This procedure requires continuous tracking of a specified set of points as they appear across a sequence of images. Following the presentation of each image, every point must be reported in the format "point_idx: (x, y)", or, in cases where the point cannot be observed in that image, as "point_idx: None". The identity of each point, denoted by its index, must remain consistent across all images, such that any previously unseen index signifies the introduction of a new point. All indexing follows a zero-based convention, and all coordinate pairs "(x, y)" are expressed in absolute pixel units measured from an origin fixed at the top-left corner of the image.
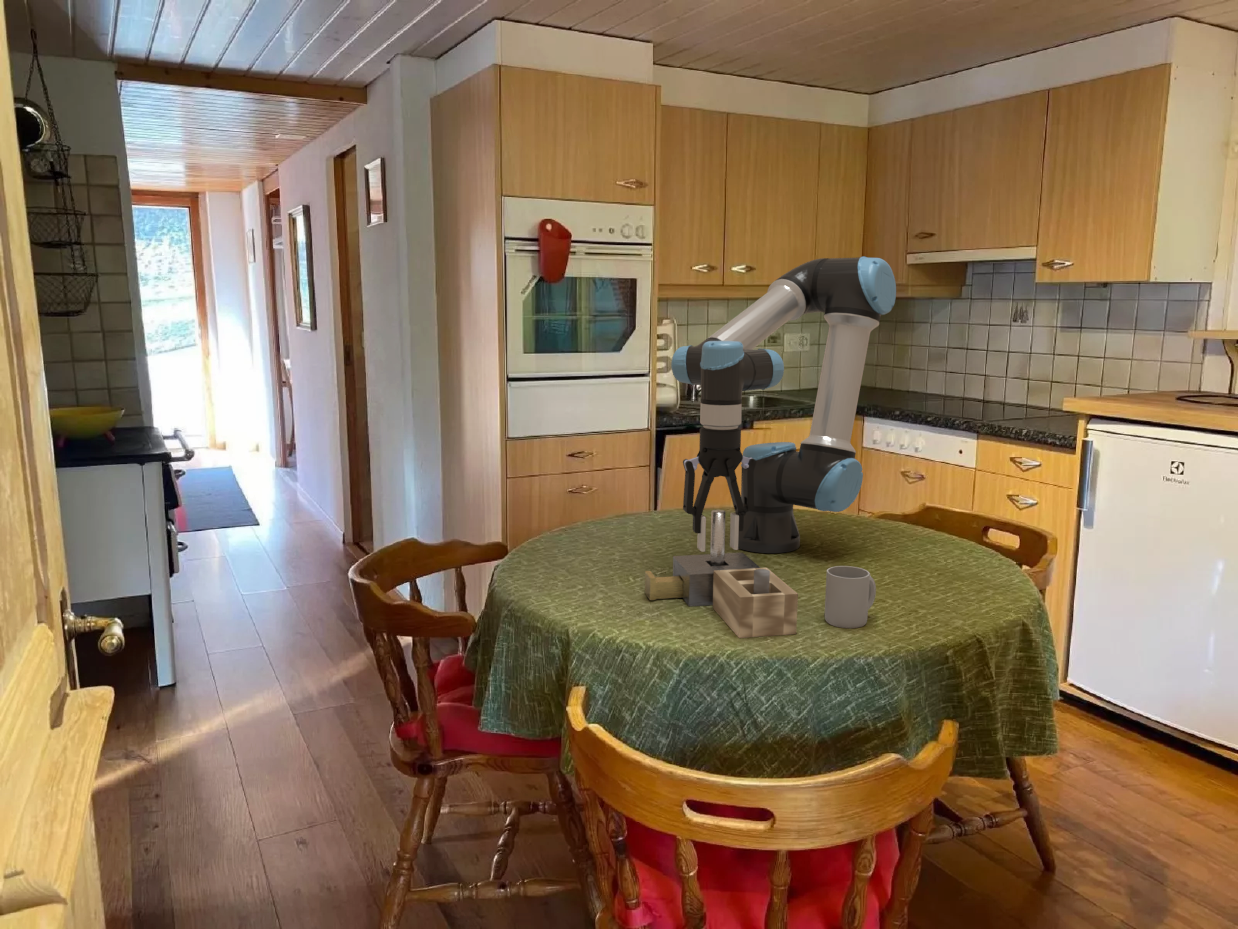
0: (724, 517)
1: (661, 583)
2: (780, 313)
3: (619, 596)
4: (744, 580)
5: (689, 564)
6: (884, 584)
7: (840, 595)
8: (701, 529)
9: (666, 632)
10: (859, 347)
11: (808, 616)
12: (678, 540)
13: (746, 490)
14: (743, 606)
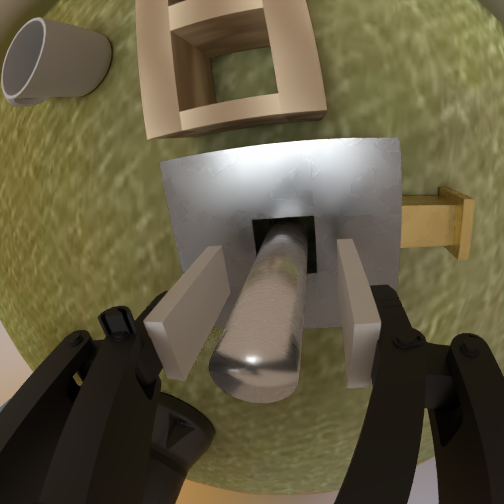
0: (225, 330)
1: (440, 204)
2: None
3: (486, 232)
4: (239, 11)
5: (375, 244)
6: (34, 241)
7: (65, 23)
8: (367, 285)
9: (428, 13)
10: None
11: (130, 75)
12: (286, 452)
13: (43, 423)
14: None
